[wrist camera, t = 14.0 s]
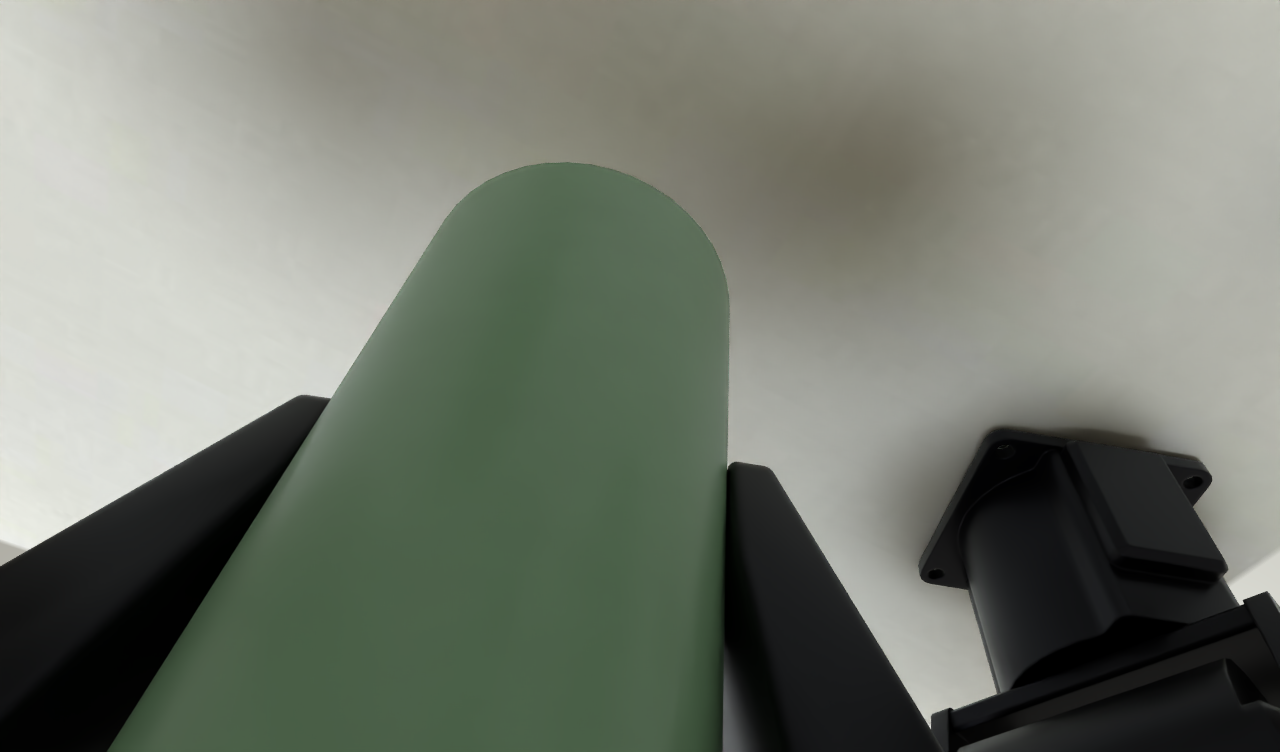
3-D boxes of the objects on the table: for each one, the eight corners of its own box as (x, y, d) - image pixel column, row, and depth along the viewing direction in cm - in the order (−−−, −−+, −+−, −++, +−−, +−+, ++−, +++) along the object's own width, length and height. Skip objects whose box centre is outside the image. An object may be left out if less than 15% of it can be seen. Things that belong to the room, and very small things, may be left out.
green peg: (702, 439, 12) (632, 1738, 4) (433, 397, 12) (-148, 1612, 4) (758, 187, 10) (849, 2116, 2) (423, 136, 10) (-985, 1820, 2)
